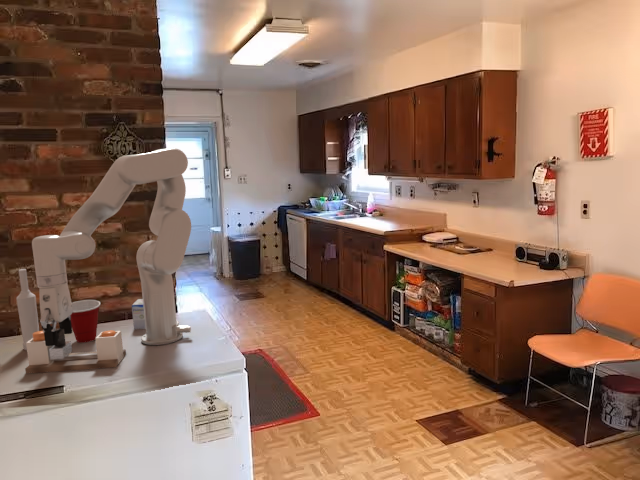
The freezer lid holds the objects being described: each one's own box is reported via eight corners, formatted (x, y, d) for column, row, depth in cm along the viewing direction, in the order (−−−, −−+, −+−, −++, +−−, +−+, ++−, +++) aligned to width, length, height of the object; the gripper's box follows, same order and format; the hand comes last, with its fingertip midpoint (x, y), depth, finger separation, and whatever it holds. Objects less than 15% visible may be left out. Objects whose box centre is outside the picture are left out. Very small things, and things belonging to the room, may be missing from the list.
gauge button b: (50, 337, 150) (49, 330, 149) (44, 341, 146) (43, 334, 146) (36, 337, 150) (36, 331, 149) (31, 342, 146) (30, 335, 146)
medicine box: (139, 322, 187) (137, 299, 185) (152, 321, 187) (150, 298, 186) (133, 329, 179) (131, 305, 178) (147, 328, 179) (144, 304, 178)
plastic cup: (67, 348, 163) (62, 310, 161) (68, 338, 173) (64, 302, 171) (105, 342, 167) (101, 305, 166) (103, 332, 177) (100, 297, 175)
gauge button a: (117, 336, 151) (116, 329, 151) (113, 340, 148) (112, 334, 147) (104, 337, 151) (103, 330, 151) (100, 341, 147) (99, 334, 147)
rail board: (126, 354, 155) (125, 346, 155) (115, 367, 146) (114, 358, 145) (42, 360, 154) (41, 351, 153) (25, 373, 144) (24, 364, 144)
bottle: (29, 351, 162) (18, 272, 158) (19, 349, 164) (9, 270, 160) (45, 346, 166) (35, 268, 162) (36, 343, 169) (26, 267, 165)
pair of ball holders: (123, 357, 153) (120, 330, 152) (118, 364, 148) (115, 336, 147) (38, 363, 152) (35, 336, 150) (29, 370, 146) (26, 342, 145)
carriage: (72, 351, 152) (69, 326, 151) (63, 358, 146) (60, 332, 145) (59, 351, 152) (56, 326, 151) (50, 359, 146) (47, 333, 145)
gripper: (52, 286, 137) (60, 349, 140) (77, 272, 154) (84, 328, 157) (23, 288, 137) (31, 351, 140) (51, 274, 154) (58, 330, 157)
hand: (59, 339), depth 148 cm, fingers open, 9 cm apart
